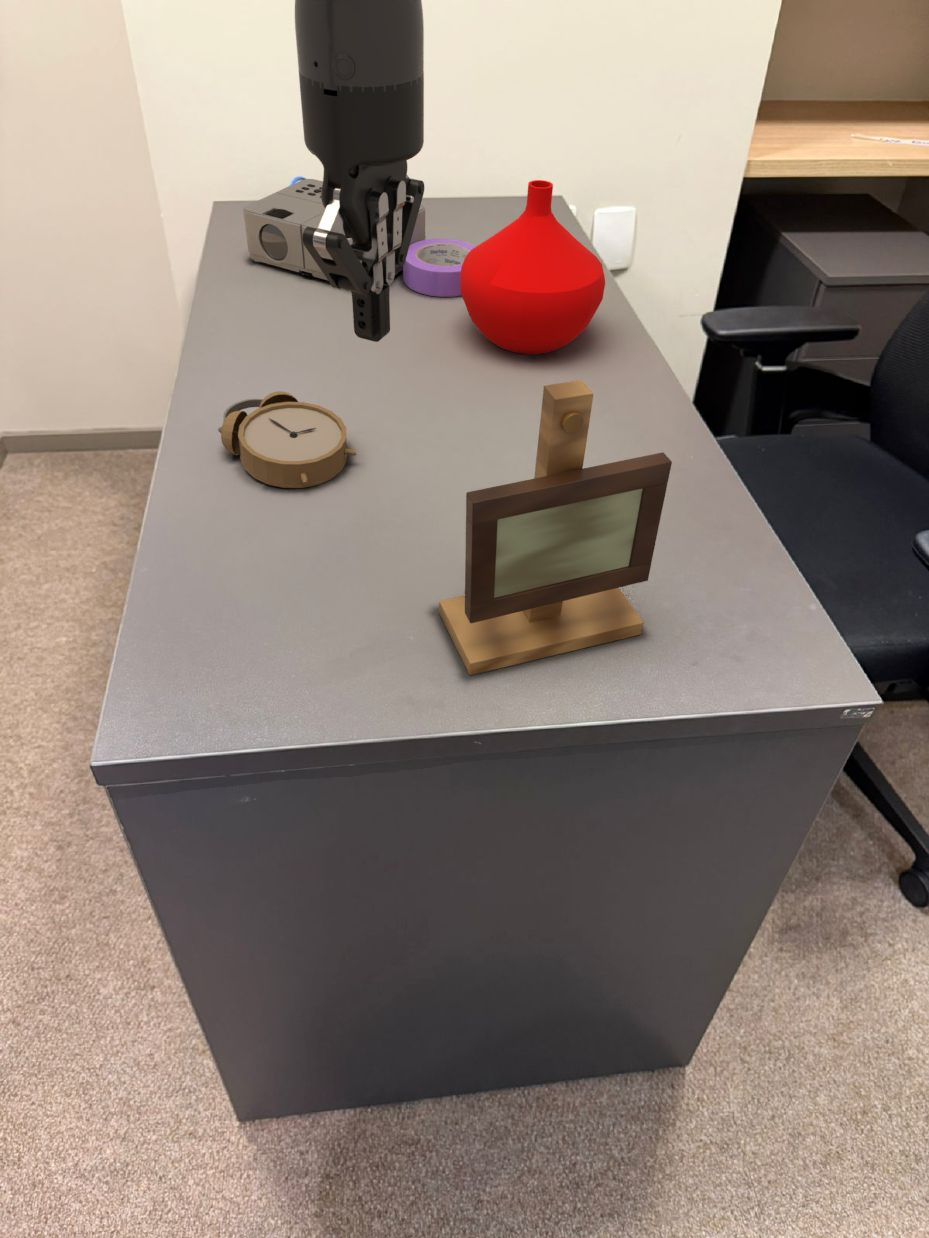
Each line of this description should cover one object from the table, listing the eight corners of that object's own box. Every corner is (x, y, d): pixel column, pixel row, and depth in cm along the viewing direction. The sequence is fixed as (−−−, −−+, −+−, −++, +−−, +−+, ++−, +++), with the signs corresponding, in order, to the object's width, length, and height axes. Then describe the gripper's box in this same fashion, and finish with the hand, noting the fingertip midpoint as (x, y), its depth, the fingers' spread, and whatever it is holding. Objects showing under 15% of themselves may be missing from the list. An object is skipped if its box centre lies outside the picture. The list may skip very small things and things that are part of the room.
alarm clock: (292, 480, 88) (192, 404, 93) (290, 516, 92) (194, 441, 97) (371, 435, 95) (273, 365, 100) (367, 470, 99) (273, 401, 103)
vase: (563, 300, 127) (579, 155, 114) (620, 360, 115) (646, 205, 102) (440, 315, 123) (442, 165, 109) (486, 379, 110) (494, 219, 97)
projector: (311, 227, 144) (306, 175, 138) (429, 258, 137) (429, 204, 131) (244, 262, 133) (237, 208, 128) (368, 297, 126) (366, 241, 120)
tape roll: (491, 295, 128) (492, 268, 125) (410, 299, 126) (410, 272, 123) (473, 262, 136) (474, 236, 133) (397, 266, 134) (397, 240, 131)
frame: (470, 623, 72) (472, 503, 63) (464, 612, 73) (466, 492, 64) (648, 580, 76) (672, 461, 67) (640, 570, 77) (663, 451, 68)
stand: (469, 676, 74) (482, 436, 58) (438, 613, 80) (443, 378, 64) (640, 634, 78) (696, 401, 63) (601, 577, 84) (642, 348, 68)
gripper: (360, 36, 59) (370, 291, 71) (245, 80, 50) (279, 363, 62) (463, 51, 57) (456, 311, 69) (362, 99, 48) (374, 388, 60)
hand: (372, 335), depth 66 cm, fingers closed
